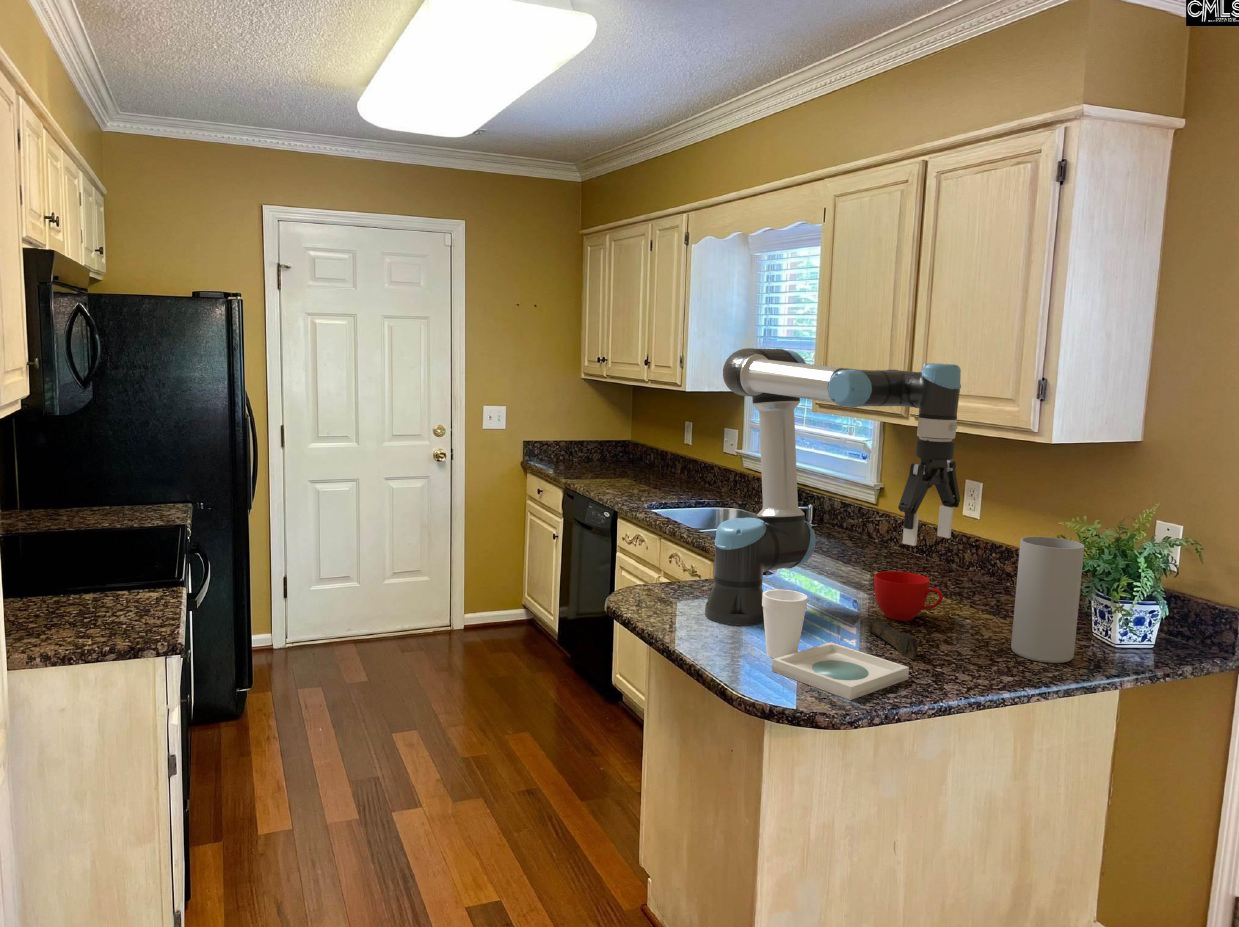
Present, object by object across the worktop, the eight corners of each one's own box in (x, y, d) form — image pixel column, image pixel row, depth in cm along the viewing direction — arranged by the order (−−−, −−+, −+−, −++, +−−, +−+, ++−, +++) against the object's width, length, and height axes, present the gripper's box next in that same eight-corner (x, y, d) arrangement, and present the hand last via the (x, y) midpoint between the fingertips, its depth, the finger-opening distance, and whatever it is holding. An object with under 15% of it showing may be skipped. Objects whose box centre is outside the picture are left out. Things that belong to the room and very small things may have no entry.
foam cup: (811, 660, 195) (815, 600, 194) (771, 663, 193) (774, 602, 191) (790, 646, 204) (794, 588, 203) (752, 649, 202) (755, 590, 200)
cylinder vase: (1012, 659, 201) (1022, 544, 198) (1009, 642, 212) (1019, 534, 209) (1076, 667, 197) (1087, 551, 193) (1070, 650, 208) (1080, 540, 205)
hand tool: (867, 634, 216) (868, 614, 215) (884, 634, 216) (885, 614, 216) (902, 662, 197) (903, 641, 197) (920, 661, 198) (921, 640, 197)
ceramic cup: (928, 632, 218) (931, 590, 217) (862, 616, 230) (865, 576, 228) (951, 621, 228) (954, 581, 227) (887, 606, 239) (889, 568, 238)
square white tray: (771, 671, 188) (772, 659, 188) (830, 653, 200) (830, 642, 200) (850, 700, 174) (851, 687, 174) (908, 679, 186) (908, 667, 186)
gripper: (919, 444, 181) (910, 551, 183) (982, 438, 197) (973, 537, 200) (885, 439, 186) (877, 544, 189) (950, 434, 203) (941, 530, 206)
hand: (926, 540), depth 195 cm, fingers open, 13 cm apart
